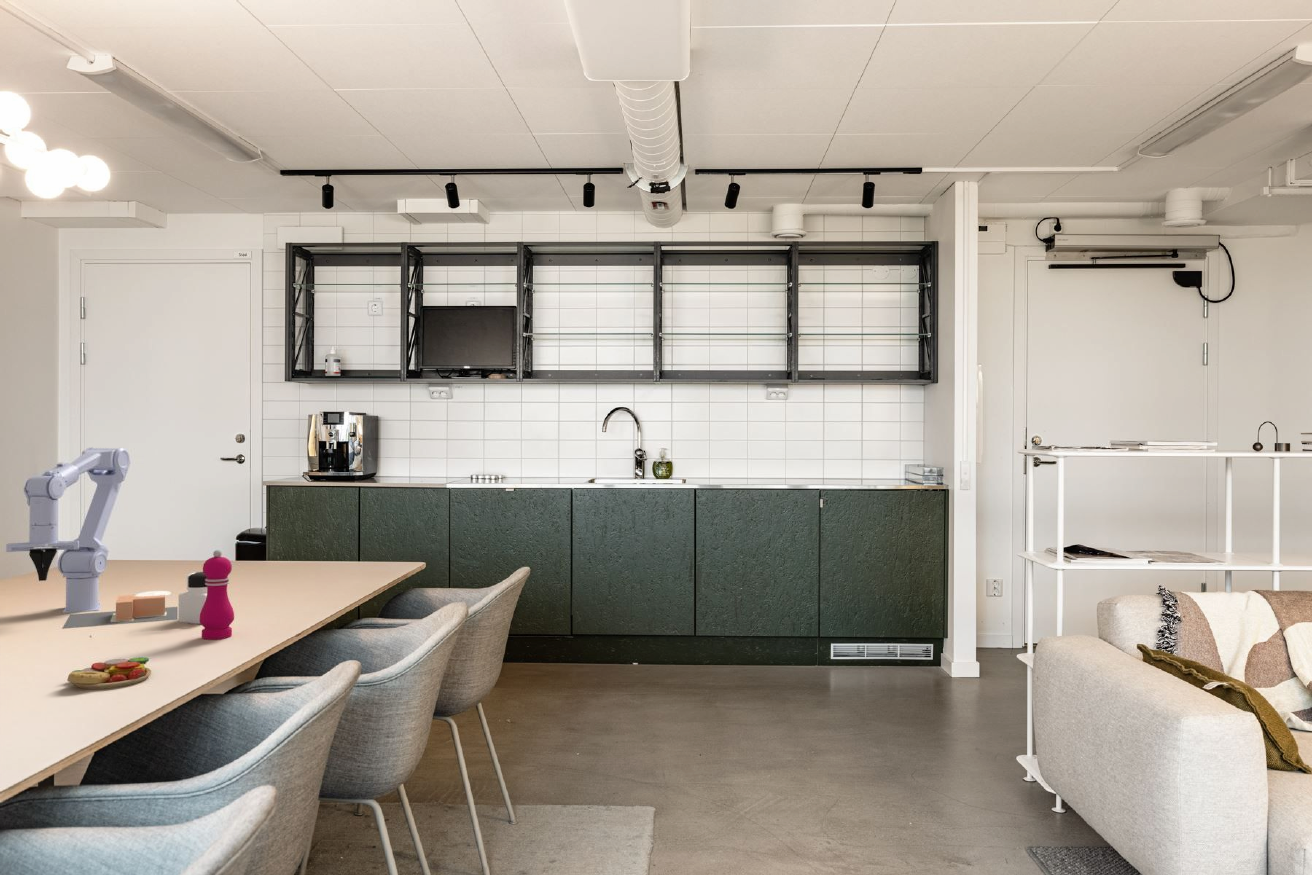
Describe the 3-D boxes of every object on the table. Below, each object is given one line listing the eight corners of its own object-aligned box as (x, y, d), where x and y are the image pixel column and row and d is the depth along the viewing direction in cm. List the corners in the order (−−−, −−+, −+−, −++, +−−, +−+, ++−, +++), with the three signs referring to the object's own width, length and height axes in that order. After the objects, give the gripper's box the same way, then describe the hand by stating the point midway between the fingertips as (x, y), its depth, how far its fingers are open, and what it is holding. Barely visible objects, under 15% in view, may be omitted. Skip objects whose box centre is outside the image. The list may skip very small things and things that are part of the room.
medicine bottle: (222, 618, 225) (222, 570, 225) (205, 624, 218) (205, 575, 218) (195, 617, 226) (195, 570, 226) (177, 623, 219) (178, 574, 219)
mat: (70, 616, 226) (70, 614, 226) (177, 608, 237) (177, 606, 237) (62, 630, 210) (62, 628, 210) (177, 620, 221) (177, 619, 221)
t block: (118, 613, 227) (118, 596, 227) (165, 610, 232) (165, 592, 232) (115, 621, 219) (115, 602, 219) (164, 617, 224) (164, 599, 224)
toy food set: (62, 695, 160) (62, 677, 160) (76, 676, 172) (76, 659, 172) (147, 687, 165) (147, 669, 165) (155, 669, 177) (155, 653, 177)
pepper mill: (241, 634, 207) (242, 548, 207) (216, 641, 200) (217, 552, 200) (216, 632, 209) (217, 547, 209) (191, 638, 203) (192, 550, 203)
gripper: (4, 526, 211) (3, 584, 211) (77, 524, 218) (76, 580, 218) (9, 524, 217) (8, 580, 217) (80, 522, 224) (79, 576, 224)
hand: (42, 580), depth 218 cm, fingers closed
